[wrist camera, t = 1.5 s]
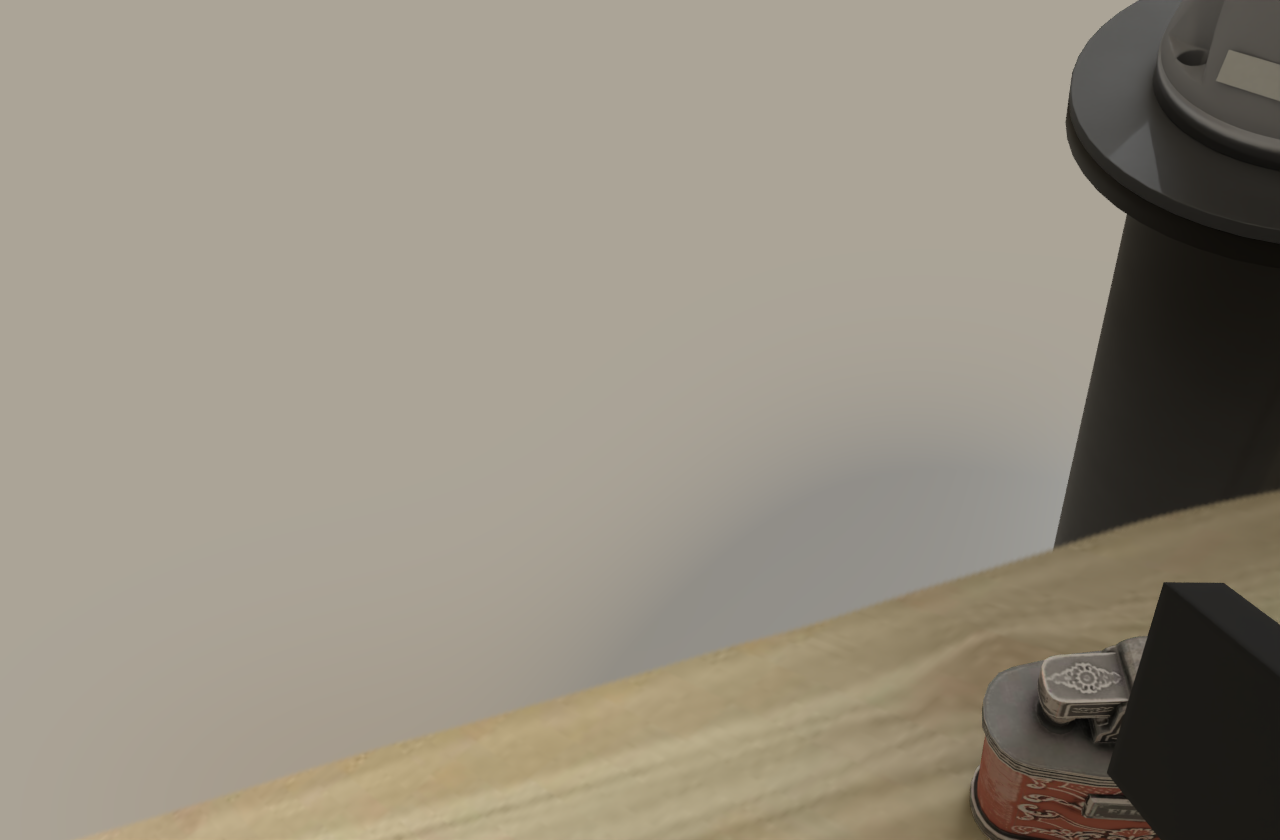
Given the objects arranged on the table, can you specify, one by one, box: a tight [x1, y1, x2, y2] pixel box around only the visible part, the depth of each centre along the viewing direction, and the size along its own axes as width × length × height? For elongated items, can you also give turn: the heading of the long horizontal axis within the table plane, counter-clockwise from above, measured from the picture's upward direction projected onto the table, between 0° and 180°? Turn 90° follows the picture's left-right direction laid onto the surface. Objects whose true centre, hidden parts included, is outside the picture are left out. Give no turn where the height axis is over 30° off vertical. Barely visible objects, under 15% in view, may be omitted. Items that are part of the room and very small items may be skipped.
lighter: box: [970, 636, 1161, 840], centre depth 25 cm, size 8×3×10 cm, turn 88°
